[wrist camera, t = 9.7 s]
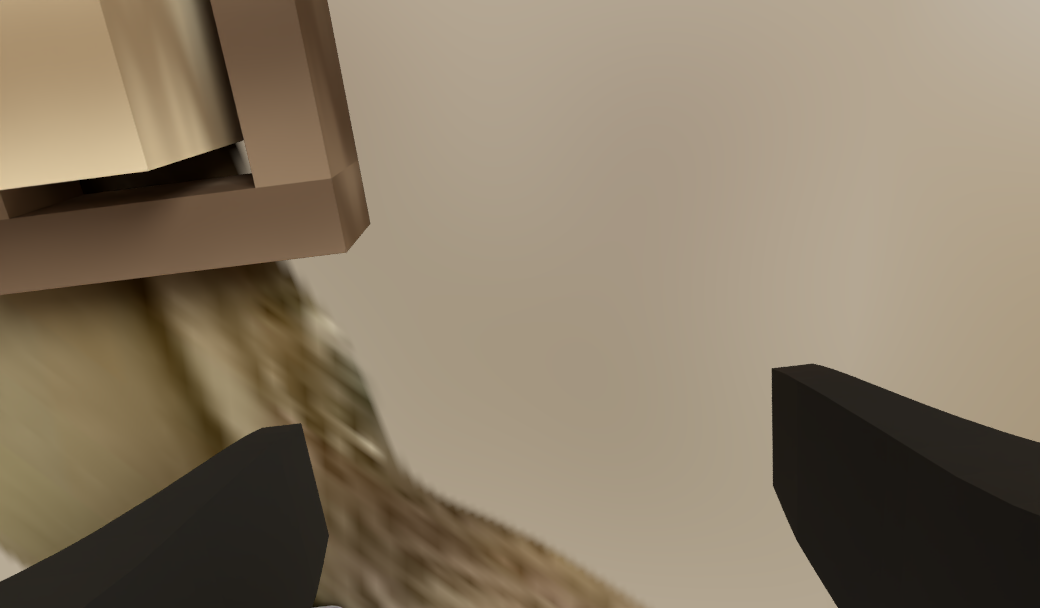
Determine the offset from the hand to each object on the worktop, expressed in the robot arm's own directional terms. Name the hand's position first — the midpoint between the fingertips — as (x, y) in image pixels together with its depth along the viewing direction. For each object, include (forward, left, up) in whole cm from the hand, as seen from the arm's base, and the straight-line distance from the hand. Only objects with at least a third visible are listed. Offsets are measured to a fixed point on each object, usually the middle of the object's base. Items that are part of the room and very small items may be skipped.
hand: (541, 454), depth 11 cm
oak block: (+7, +9, -10) cm, 14 cm away
